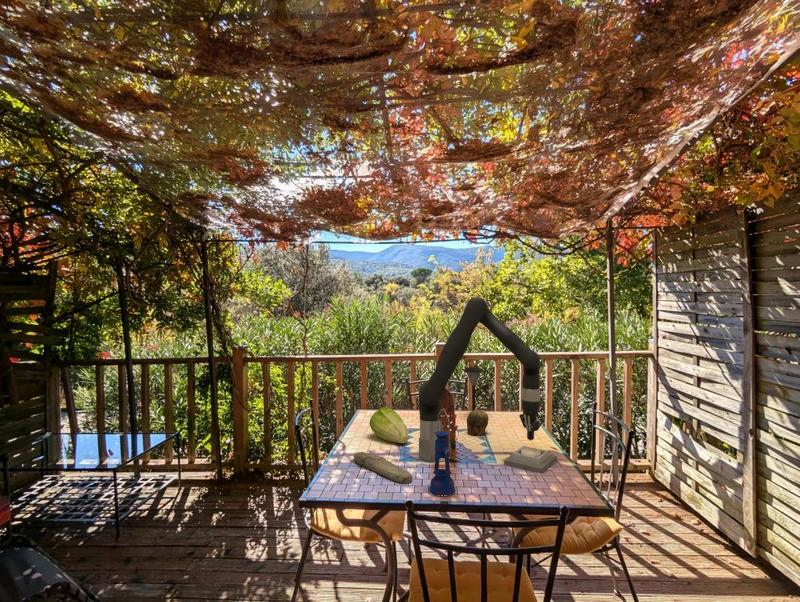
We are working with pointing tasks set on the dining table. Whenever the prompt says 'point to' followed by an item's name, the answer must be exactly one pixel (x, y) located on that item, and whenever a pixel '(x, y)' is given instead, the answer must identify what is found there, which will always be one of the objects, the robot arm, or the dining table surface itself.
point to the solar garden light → (473, 380)
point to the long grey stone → (383, 467)
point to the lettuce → (389, 426)
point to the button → (531, 451)
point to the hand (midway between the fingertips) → (530, 439)
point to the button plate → (531, 461)
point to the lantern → (442, 480)
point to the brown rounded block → (477, 422)
